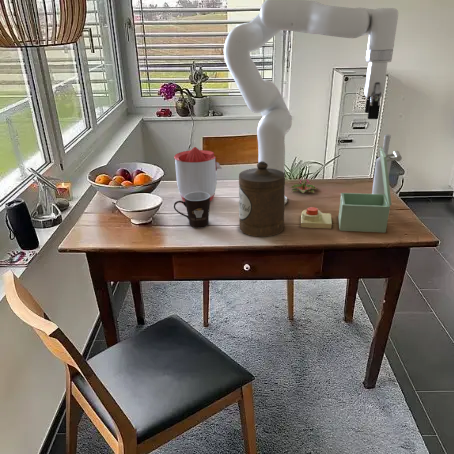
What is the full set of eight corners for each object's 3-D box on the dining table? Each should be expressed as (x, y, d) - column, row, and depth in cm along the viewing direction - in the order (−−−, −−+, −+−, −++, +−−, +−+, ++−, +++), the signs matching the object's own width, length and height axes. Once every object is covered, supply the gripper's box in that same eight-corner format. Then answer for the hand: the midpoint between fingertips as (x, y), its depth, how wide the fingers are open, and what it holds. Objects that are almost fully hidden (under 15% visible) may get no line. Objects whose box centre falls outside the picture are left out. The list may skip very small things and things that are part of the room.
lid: (383, 157, 140) (402, 153, 139) (379, 147, 150) (397, 143, 149) (389, 205, 148) (407, 202, 146) (384, 193, 157) (401, 189, 156)
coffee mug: (215, 220, 164) (213, 193, 159) (206, 230, 157) (204, 202, 152) (184, 217, 167) (182, 190, 162) (174, 226, 160) (171, 198, 155)
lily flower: (319, 185, 192) (320, 174, 190) (317, 195, 182) (318, 184, 180) (289, 184, 195) (290, 173, 192) (286, 194, 185) (287, 182, 182)
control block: (300, 227, 158) (301, 217, 156) (301, 216, 165) (302, 207, 163) (331, 228, 156) (332, 218, 154) (330, 218, 164) (331, 208, 162)
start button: (306, 215, 158) (306, 210, 157) (306, 211, 161) (307, 206, 160) (317, 216, 158) (317, 211, 157) (317, 212, 161) (317, 207, 160)
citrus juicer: (225, 205, 176) (224, 151, 165) (178, 208, 174) (174, 154, 163) (219, 191, 189) (218, 140, 179) (176, 194, 187) (172, 142, 177)
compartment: (339, 230, 155) (342, 205, 150) (338, 217, 164) (341, 192, 160) (385, 232, 153) (390, 206, 148) (381, 218, 162) (385, 194, 158)
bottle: (382, 202, 175) (394, 133, 162) (385, 208, 170) (397, 136, 157) (368, 202, 175) (378, 133, 162) (370, 207, 171) (381, 136, 158)
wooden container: (240, 219, 165) (239, 155, 153) (282, 219, 164) (285, 155, 152) (238, 237, 152) (237, 169, 140) (284, 237, 151) (287, 169, 139)
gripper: (364, 53, 150) (357, 110, 159) (369, 59, 136) (361, 121, 145) (388, 53, 149) (380, 110, 158) (396, 59, 135) (386, 121, 144)
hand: (371, 115), depth 152 cm, fingers open, 9 cm apart
